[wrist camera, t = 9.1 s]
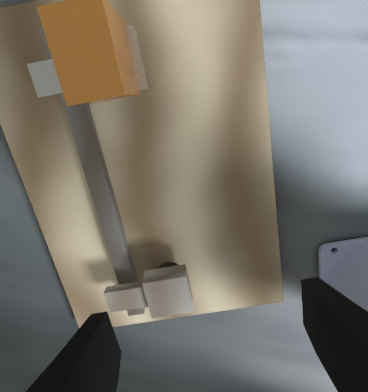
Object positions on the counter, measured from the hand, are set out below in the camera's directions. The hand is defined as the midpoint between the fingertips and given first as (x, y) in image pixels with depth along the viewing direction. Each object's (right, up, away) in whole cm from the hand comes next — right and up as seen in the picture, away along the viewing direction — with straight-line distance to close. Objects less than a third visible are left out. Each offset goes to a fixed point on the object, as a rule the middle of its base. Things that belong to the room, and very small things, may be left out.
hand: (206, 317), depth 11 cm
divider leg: (-6, +11, +6) cm, 14 cm away
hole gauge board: (-3, +6, +9) cm, 11 cm away
